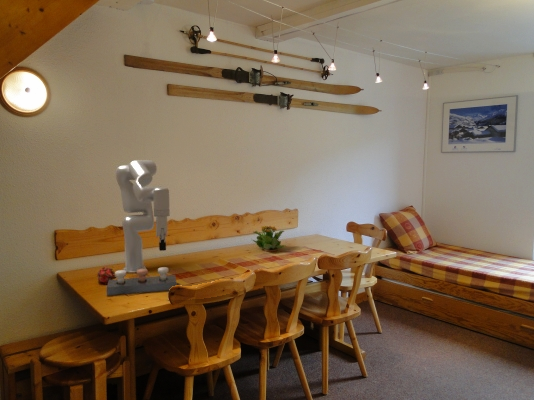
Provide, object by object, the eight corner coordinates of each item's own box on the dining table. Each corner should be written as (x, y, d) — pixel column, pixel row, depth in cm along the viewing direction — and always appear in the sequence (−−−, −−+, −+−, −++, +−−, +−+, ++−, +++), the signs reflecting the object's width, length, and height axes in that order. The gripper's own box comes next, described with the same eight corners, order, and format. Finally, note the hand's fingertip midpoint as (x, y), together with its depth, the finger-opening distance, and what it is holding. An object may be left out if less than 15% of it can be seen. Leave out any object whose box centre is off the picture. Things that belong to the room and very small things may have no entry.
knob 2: (158, 279, 207) (157, 267, 207) (168, 278, 209) (168, 266, 208) (158, 282, 203) (158, 270, 202) (168, 281, 204) (168, 269, 203)
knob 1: (115, 282, 202) (115, 270, 201) (126, 281, 203) (126, 269, 203) (115, 285, 197) (114, 273, 196) (126, 284, 198) (125, 272, 198)
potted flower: (295, 250, 285) (295, 225, 284) (272, 256, 268) (272, 230, 266) (269, 245, 303) (269, 221, 301) (245, 250, 285) (245, 225, 284)
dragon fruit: (103, 281, 219) (112, 290, 211) (90, 275, 214) (98, 284, 205) (112, 268, 221) (122, 276, 213) (100, 261, 216) (109, 269, 207)
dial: (137, 280, 205) (136, 269, 204) (147, 280, 206) (147, 268, 205) (137, 283, 200) (136, 271, 199) (147, 283, 201) (147, 271, 201)
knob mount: (109, 287, 205) (108, 280, 204) (175, 282, 213) (174, 275, 213) (106, 295, 193) (106, 287, 193) (176, 289, 202) (176, 281, 201)
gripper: (153, 211, 208) (154, 246, 210) (153, 215, 193) (155, 254, 195) (168, 210, 210) (169, 246, 212) (170, 215, 195) (171, 253, 197)
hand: (162, 249), depth 204 cm, fingers closed
